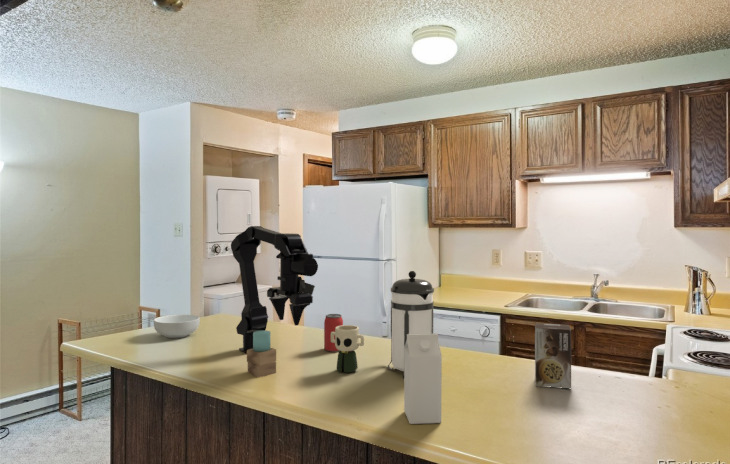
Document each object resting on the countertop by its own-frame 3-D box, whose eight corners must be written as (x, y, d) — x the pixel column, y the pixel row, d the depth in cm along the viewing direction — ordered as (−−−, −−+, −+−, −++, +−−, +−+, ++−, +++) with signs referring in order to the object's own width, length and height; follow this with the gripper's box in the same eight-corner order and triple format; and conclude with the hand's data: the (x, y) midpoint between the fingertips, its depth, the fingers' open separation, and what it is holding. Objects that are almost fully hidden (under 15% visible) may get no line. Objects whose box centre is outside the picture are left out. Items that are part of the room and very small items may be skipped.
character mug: (325, 372, 137) (325, 328, 137) (336, 365, 144) (336, 323, 143) (358, 376, 133) (358, 331, 133) (368, 369, 139) (368, 326, 139)
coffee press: (444, 366, 142) (444, 269, 141) (428, 383, 128) (429, 274, 127) (391, 359, 149) (391, 267, 149) (371, 374, 135) (371, 271, 134)
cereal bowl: (190, 341, 172) (189, 322, 172) (145, 341, 173) (145, 322, 172) (206, 331, 189) (206, 313, 189) (165, 330, 190) (165, 313, 189)
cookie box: (569, 382, 128) (569, 324, 128) (571, 390, 122) (572, 329, 122) (534, 378, 131) (534, 322, 131) (534, 386, 125) (535, 326, 125)
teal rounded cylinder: (249, 349, 137) (249, 332, 137) (264, 345, 140) (264, 329, 140) (258, 352, 133) (258, 335, 133) (273, 349, 136) (273, 332, 136)
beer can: (344, 347, 164) (344, 313, 164) (341, 352, 158) (341, 317, 157) (326, 346, 165) (326, 313, 165) (322, 352, 158) (322, 317, 158)
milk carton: (404, 411, 108) (404, 330, 108) (434, 410, 109) (434, 330, 109) (409, 424, 101) (409, 338, 101) (441, 423, 102) (441, 337, 102)
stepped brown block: (246, 361, 136) (246, 350, 136) (263, 357, 141) (263, 345, 141) (259, 365, 132) (259, 353, 132) (276, 360, 137) (276, 349, 137)
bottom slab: (247, 372, 137) (247, 361, 137) (265, 368, 141) (265, 357, 141) (257, 378, 132) (257, 365, 132) (276, 373, 136) (275, 361, 136)
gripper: (327, 274, 144) (326, 324, 144) (295, 269, 158) (295, 314, 159) (296, 277, 137) (296, 329, 137) (266, 271, 151) (266, 318, 152)
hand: (288, 322), depth 146 cm, fingers open, 9 cm apart
